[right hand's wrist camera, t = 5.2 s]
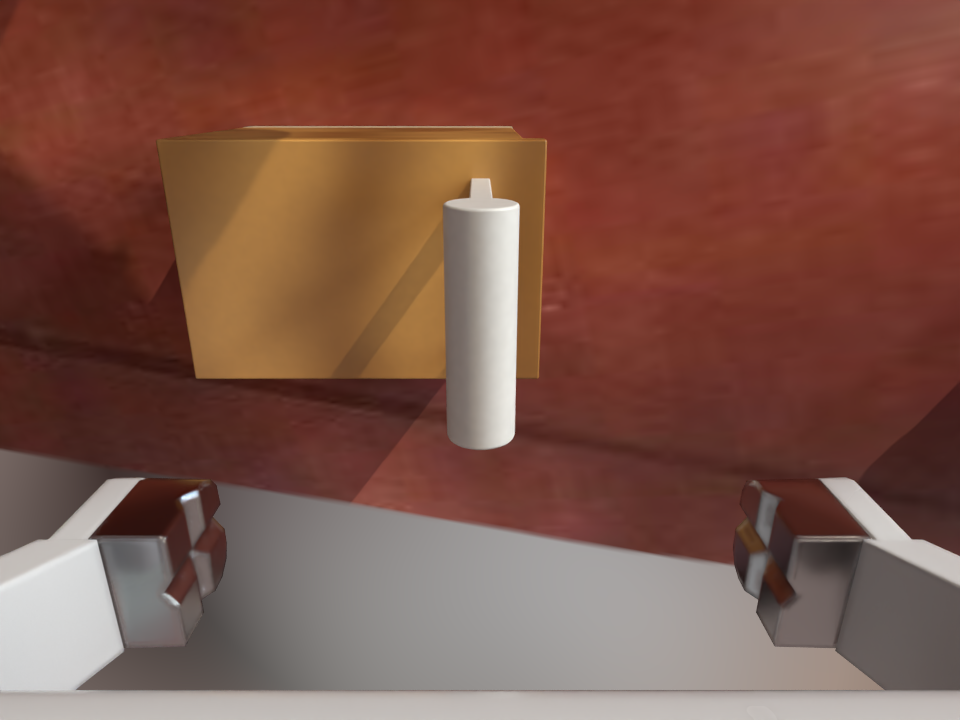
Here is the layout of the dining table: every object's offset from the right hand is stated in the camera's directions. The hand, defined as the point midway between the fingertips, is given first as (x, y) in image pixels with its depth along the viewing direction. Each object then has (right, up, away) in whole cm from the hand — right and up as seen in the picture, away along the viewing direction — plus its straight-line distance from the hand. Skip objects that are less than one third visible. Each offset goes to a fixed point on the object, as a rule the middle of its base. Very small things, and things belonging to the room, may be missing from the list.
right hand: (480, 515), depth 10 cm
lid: (-5, +6, +16) cm, 18 cm away
